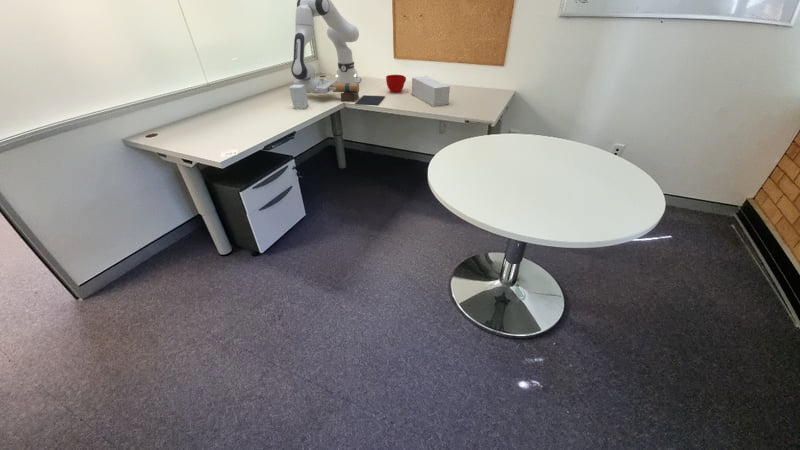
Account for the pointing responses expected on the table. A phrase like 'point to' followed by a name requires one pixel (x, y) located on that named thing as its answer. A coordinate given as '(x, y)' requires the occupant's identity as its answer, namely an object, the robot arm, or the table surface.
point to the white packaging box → (298, 96)
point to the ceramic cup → (395, 82)
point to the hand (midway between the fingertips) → (338, 87)
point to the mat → (370, 100)
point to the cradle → (349, 96)
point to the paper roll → (346, 87)
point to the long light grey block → (430, 90)
